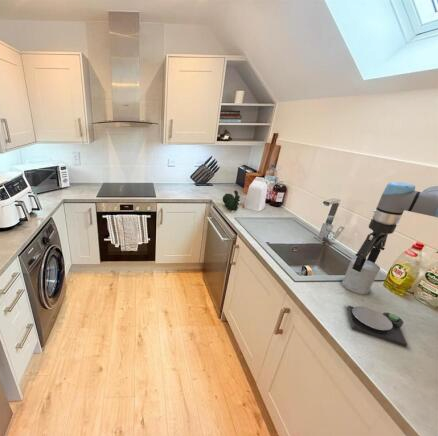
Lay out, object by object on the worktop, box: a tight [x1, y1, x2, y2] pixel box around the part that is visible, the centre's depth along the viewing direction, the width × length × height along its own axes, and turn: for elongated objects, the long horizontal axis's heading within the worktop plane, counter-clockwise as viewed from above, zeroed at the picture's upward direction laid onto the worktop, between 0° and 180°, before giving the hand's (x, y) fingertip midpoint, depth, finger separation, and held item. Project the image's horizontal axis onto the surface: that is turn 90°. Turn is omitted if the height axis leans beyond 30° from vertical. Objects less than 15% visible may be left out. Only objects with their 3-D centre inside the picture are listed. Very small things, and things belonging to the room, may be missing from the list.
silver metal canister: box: [341, 257, 381, 295], centre depth 104 cm, size 10×10×12 cm
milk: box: [243, 176, 268, 212], centre depth 192 cm, size 12×12×26 cm
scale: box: [347, 305, 408, 348], centre depth 86 cm, size 15×13×3 cm
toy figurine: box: [222, 189, 241, 212], centre depth 193 cm, size 9×19×25 cm
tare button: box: [388, 313, 400, 322], centre depth 86 cm, size 3×3×1 cm
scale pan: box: [352, 305, 393, 331], centre depth 86 cm, size 11×11×1 cm
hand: (363, 265), depth 102 cm, fingers open, 13 cm apart
